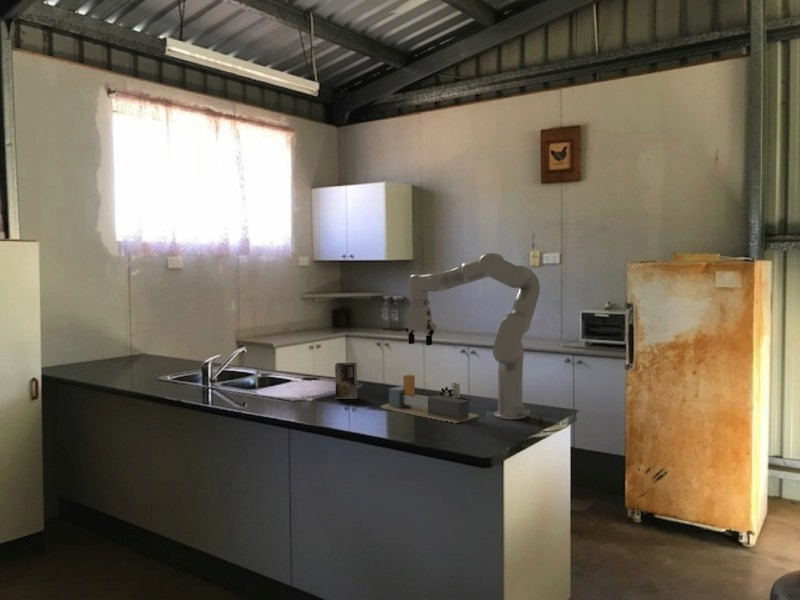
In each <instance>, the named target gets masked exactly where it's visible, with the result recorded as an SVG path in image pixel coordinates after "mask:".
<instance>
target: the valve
mask: <svg viewBox="0 0 800 600" xmlns="http://www.w3.org/2000/svg"><path fill="white" fill-rule="evenodd" d="M450 385H451V386H450V387H451V388H450V389H449V387H448V386H445V388H441V389H440V390H441V392H440V393H439V396H444V397H450V398H451V397H454V398H456V399H460V398H459V397H460V395H461V394H460V393H461V389H460V388H461V387H460V383H459V382H452V383H451V384H450Z"/></svg>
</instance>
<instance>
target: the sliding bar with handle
mask: <svg viewBox="0 0 800 600" xmlns="http://www.w3.org/2000/svg"><path fill="white" fill-rule="evenodd" d="M415 378H416V377H415V375H414V374H405V375H403V386H404V393H401V404H405V405H410V406H415V407H420V408H425V409H428V397H429V396H426V395H419V394H415V393H416V392H415V389H416V388H415V387H416V386H415V384H416V383H415V381H416V380H415Z"/></svg>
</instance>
